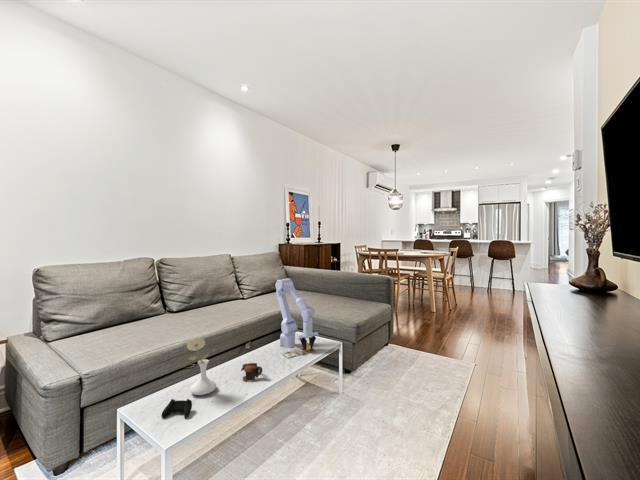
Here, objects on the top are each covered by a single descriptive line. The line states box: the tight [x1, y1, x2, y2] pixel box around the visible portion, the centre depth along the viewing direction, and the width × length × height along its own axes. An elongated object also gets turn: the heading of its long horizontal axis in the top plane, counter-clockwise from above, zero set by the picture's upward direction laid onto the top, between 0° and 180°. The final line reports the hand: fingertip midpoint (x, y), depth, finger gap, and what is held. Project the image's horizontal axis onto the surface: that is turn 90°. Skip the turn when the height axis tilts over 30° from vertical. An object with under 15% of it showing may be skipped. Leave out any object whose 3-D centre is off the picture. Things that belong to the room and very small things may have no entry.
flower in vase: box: [186, 337, 217, 396], centre depth 140 cm, size 13×11×25 cm
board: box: [280, 345, 317, 360], centre depth 184 cm, size 20×9×4 cm, turn 124°
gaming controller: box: [161, 398, 193, 419], centre depth 123 cm, size 11×4×7 cm
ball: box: [306, 343, 311, 351], centre depth 187 cm, size 4×4×4 cm
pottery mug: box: [240, 362, 263, 382], centre depth 154 cm, size 12×10×8 cm
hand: (307, 349), depth 187 cm, fingers closed on ball, 4 cm apart
